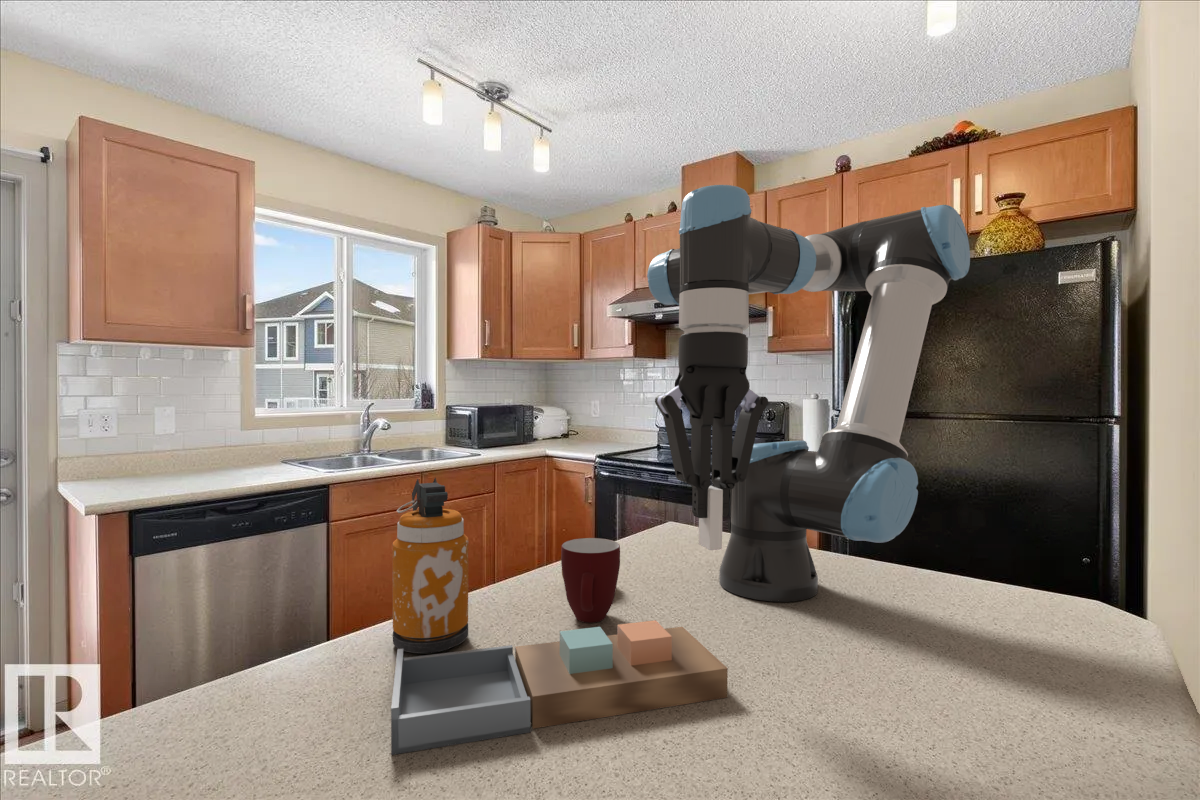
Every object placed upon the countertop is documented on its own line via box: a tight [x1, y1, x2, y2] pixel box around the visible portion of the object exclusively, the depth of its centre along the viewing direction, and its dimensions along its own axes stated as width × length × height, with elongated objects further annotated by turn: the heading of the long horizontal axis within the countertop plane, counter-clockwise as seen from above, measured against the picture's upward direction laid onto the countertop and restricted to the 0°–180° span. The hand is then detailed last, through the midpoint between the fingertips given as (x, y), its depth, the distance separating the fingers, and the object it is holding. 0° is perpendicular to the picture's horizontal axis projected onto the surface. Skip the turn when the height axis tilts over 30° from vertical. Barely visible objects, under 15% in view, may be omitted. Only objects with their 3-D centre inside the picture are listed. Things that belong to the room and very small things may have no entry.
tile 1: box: [559, 626, 613, 674], centre depth 62 cm, size 4×4×2 cm
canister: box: [392, 477, 469, 655], centre depth 74 cm, size 9×11×20 cm
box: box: [390, 644, 531, 756], centre depth 58 cm, size 12×12×4 cm
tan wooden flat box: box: [514, 626, 729, 730], centre depth 63 cm, size 20×11×3 cm, turn 106°
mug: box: [560, 537, 621, 624], centre depth 80 cm, size 11×8×10 cm
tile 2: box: [616, 620, 672, 666], centre depth 63 cm, size 4×4×2 cm
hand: (710, 546), depth 65 cm, fingers closed
